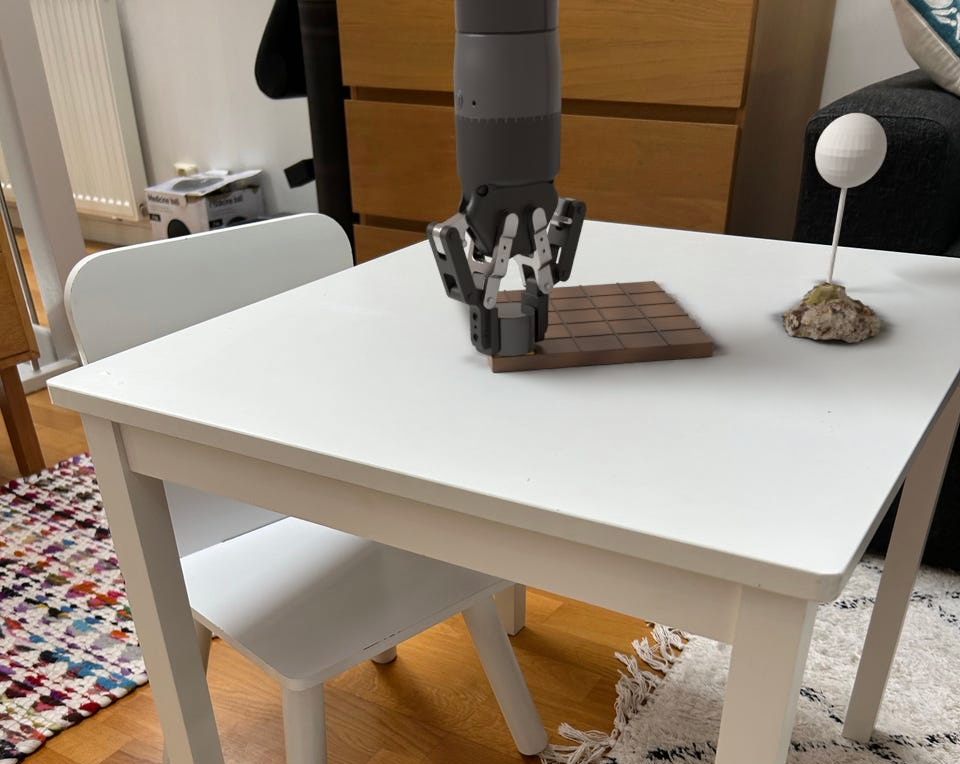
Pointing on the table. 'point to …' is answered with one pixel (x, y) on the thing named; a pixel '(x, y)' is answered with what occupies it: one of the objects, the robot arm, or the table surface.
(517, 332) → the dark grey cylinder
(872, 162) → the lollipop
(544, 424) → the table surface
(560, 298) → the board
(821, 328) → the mineral rock
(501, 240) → the robot arm
